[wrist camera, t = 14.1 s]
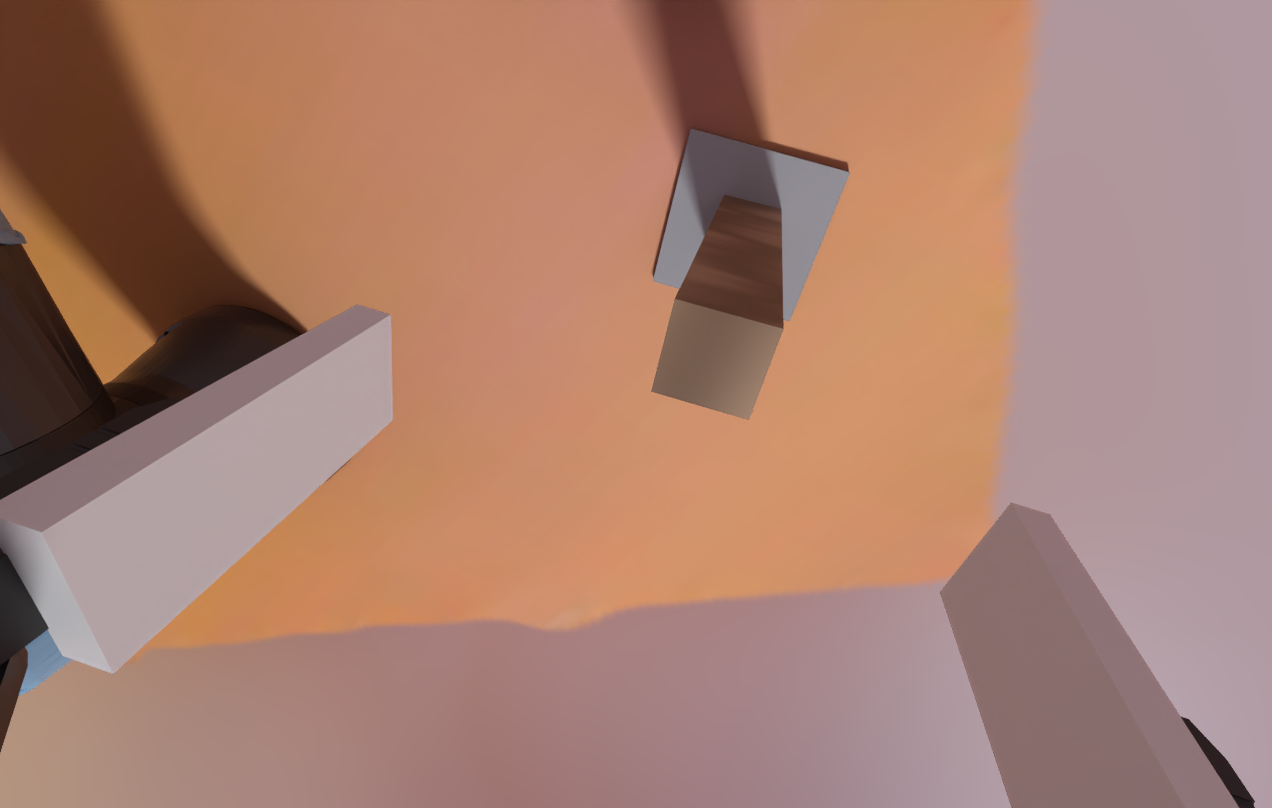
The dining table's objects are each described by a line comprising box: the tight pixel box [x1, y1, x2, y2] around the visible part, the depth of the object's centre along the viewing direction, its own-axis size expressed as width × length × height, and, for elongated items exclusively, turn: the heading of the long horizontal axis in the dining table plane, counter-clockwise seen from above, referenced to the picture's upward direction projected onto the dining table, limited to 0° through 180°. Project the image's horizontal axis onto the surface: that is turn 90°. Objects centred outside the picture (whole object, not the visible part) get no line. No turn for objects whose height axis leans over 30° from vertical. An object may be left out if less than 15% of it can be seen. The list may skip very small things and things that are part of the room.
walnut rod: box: [651, 195, 783, 420], centre depth 22 cm, size 3×3×16 cm
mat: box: [653, 128, 850, 321], centre depth 29 cm, size 8×8×1 cm
